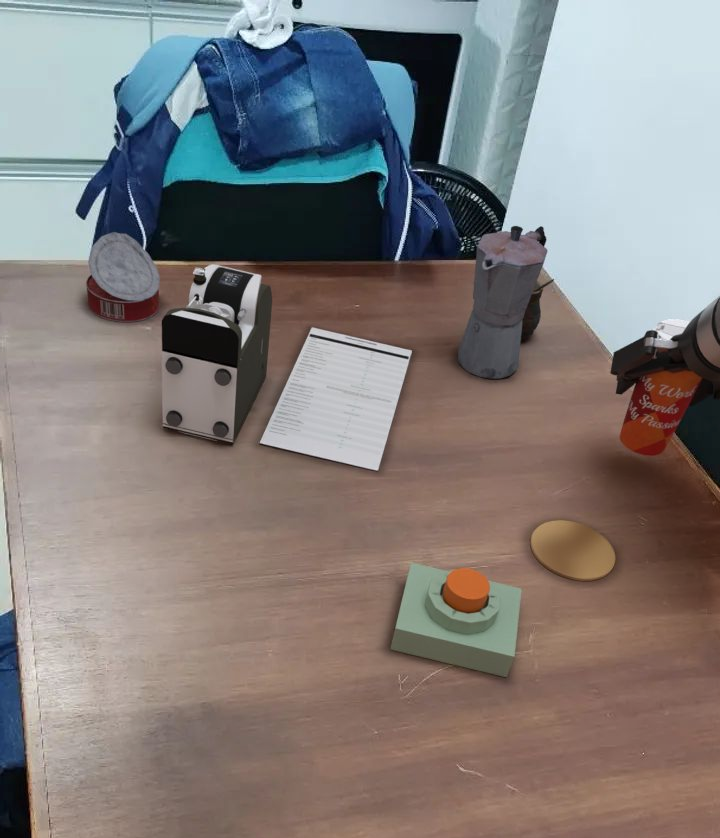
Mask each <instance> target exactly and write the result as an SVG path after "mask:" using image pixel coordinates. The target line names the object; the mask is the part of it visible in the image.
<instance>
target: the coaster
mask: <svg viewBox="0 0 720 838" xmlns="http://www.w3.org/2000/svg"><path fill="white" fill-rule="evenodd" d="M529 543H530V544H529V545H530V549H531V552H532V553H533V556H534V557H535V558H536V560H537V561H538V563H540V564H541V565H542V566H543V567H544V568H546V569H547V570H548V571H550V572H551V573H553V574H555V575H558V576H559V577H562V578H565V579H569V580H572V581H581V582H588V581H596V580H601V579H602V578H604V577H606V576H607V575H609V574H610V573H611V572H612V570H613V568H614V566H615V565H616V553H615V550H614V548H613V546H612V545H611V543H610V542H609V541H608V539H607V538H606V537H604V535H602V534H601V533H600V532H598V531H597V530H595V529H594V528H592V527H589V525H586V524H582V523H580V522H576V521H573V520H563V519H561V520H560V519H558V520H550V521H546V522H543V523H541V524H540V525H538V526H537V527H536V528H535V529H534V531H533V532H532V534H531V537H530V541H529Z"/></svg>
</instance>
